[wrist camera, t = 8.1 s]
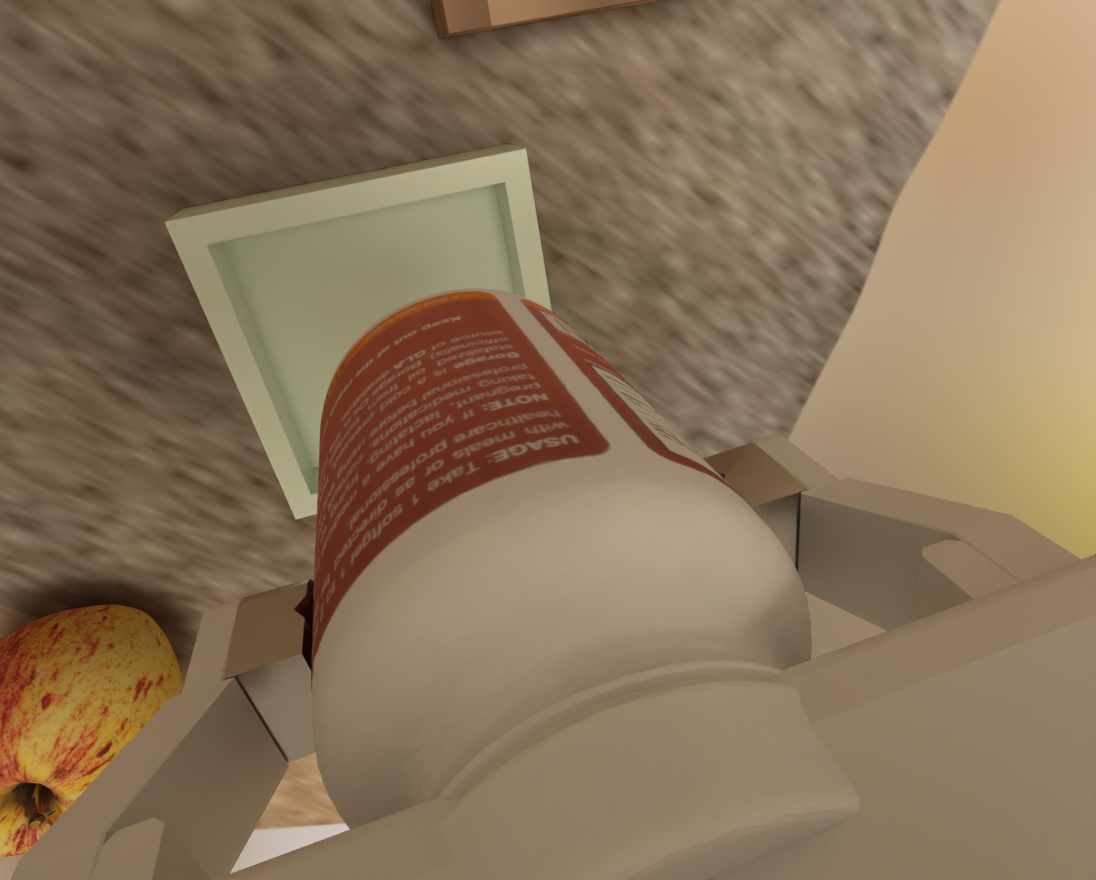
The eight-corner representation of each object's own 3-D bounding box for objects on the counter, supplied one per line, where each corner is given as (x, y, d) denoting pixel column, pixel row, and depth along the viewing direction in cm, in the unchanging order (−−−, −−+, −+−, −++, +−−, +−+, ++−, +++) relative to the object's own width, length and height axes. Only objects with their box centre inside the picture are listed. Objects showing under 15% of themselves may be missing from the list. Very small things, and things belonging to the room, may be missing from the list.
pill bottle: (310, 526, 15) (258, 1282, 5) (335, 256, 12) (316, 791, 3) (564, 535, 17) (841, 1090, 8) (628, 305, 14) (1162, 708, 5)
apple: (18, 542, 29) (-116, 727, 21) (230, 587, 33) (188, 758, 25) (-23, 687, 32) (-157, 902, 24) (177, 712, 36) (123, 906, 28)
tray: (300, 484, 32) (295, 519, 29) (183, 208, 25) (164, 222, 23) (555, 416, 34) (572, 442, 31) (509, 143, 27) (525, 148, 24)
